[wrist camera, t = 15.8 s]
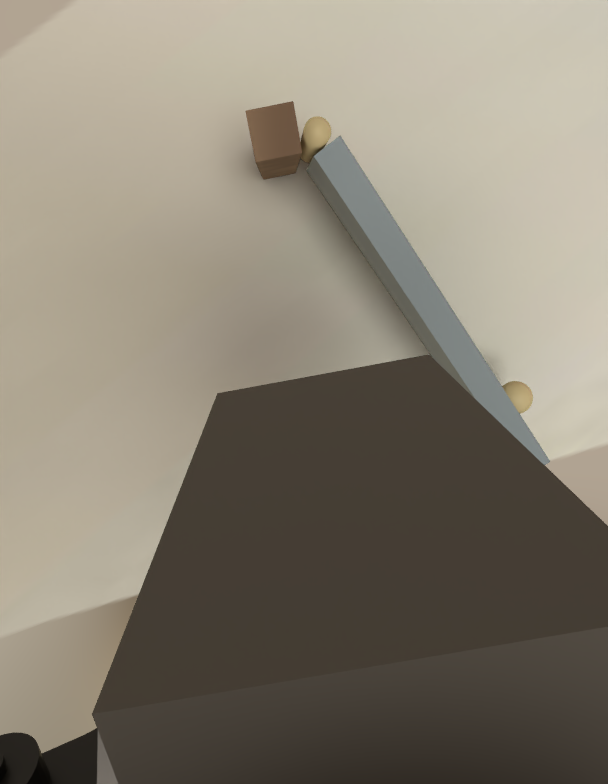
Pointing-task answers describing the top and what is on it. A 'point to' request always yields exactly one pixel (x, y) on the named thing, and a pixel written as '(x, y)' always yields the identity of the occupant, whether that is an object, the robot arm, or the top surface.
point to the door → (410, 280)
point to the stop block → (365, 600)
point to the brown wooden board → (275, 139)
